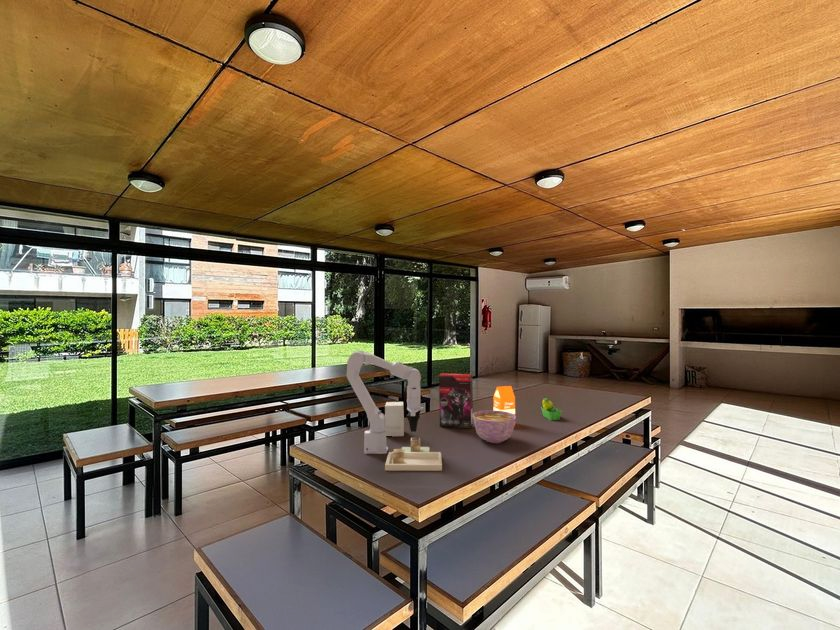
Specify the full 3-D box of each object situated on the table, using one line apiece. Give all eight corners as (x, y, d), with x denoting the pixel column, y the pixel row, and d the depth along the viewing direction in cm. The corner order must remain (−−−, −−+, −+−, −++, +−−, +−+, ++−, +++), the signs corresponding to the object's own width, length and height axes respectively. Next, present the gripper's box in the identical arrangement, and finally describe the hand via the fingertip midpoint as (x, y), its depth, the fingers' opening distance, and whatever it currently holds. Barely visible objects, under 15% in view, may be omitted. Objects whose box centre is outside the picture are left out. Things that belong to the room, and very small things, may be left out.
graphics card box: (438, 427, 206) (438, 374, 206) (441, 423, 213) (441, 372, 213) (471, 429, 201) (471, 375, 201) (473, 425, 208) (473, 373, 208)
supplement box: (404, 431, 199) (403, 401, 199) (403, 436, 190) (403, 405, 190) (385, 431, 199) (385, 401, 199) (384, 436, 190) (384, 405, 190)
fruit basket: (562, 420, 218) (562, 399, 218) (547, 421, 216) (547, 400, 216) (552, 415, 229) (552, 395, 229) (538, 415, 228) (538, 396, 228)
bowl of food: (464, 436, 189) (464, 412, 189) (501, 432, 196) (500, 408, 196) (486, 450, 171) (486, 423, 171) (525, 444, 178) (525, 418, 178)
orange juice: (493, 422, 214) (493, 385, 214) (507, 421, 216) (507, 384, 216) (500, 426, 206) (500, 388, 206) (515, 425, 209) (515, 387, 209)
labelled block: (410, 452, 166) (410, 440, 166) (410, 449, 170) (410, 437, 170) (420, 452, 166) (420, 440, 166) (420, 449, 170) (420, 437, 170)
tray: (385, 471, 147) (385, 464, 147) (388, 458, 161) (388, 452, 161) (442, 471, 147) (442, 465, 147) (440, 458, 161) (440, 452, 161)
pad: (400, 456, 163) (400, 454, 163) (402, 448, 173) (402, 446, 173) (429, 456, 163) (429, 455, 163) (429, 448, 173) (429, 446, 173)
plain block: (393, 465, 152) (393, 452, 152) (394, 461, 156) (394, 448, 156) (403, 465, 152) (403, 452, 152) (404, 461, 156) (404, 448, 156)
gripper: (422, 400, 163) (422, 433, 163) (423, 393, 177) (423, 424, 177) (405, 400, 163) (405, 433, 163) (407, 393, 178) (408, 424, 178)
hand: (413, 428), depth 170 cm, fingers open, 7 cm apart
